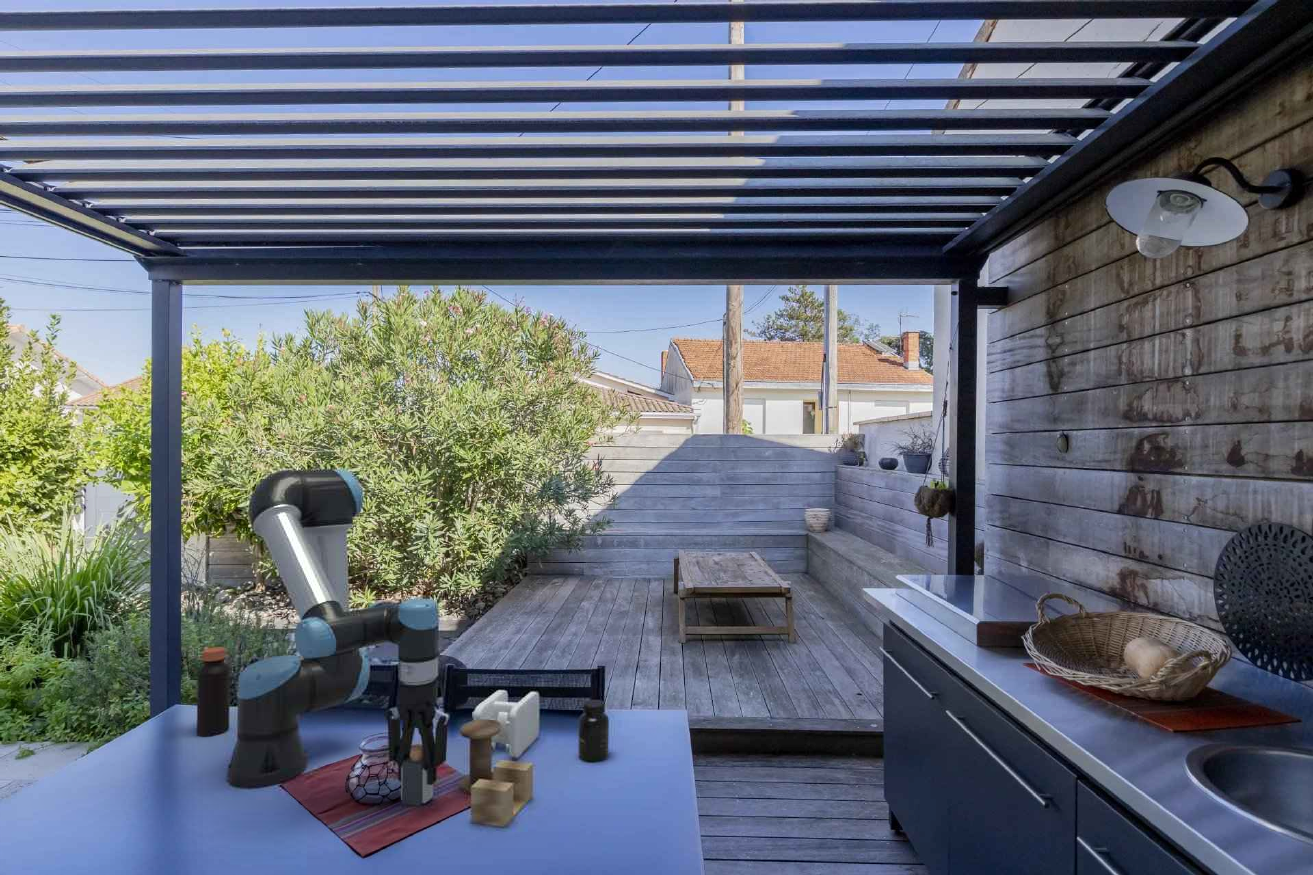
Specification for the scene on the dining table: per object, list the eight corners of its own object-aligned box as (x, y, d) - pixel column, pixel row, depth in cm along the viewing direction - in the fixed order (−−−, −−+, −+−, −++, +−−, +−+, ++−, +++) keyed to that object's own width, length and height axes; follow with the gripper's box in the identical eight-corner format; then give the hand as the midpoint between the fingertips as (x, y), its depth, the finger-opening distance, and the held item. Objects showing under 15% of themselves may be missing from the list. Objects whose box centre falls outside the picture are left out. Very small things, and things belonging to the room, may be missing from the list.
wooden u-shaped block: (470, 822, 133) (471, 786, 133) (500, 792, 145) (500, 759, 145) (505, 827, 132) (505, 791, 132) (532, 796, 143) (532, 763, 143)
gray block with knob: (402, 803, 140) (402, 749, 140) (413, 793, 144) (414, 741, 144) (420, 805, 139) (420, 752, 139) (431, 796, 143) (432, 743, 143)
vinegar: (199, 728, 178) (200, 647, 178) (230, 724, 180) (231, 644, 181) (194, 738, 171) (195, 654, 172) (227, 734, 174) (228, 651, 175)
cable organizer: (514, 764, 158) (514, 711, 158) (470, 759, 160) (470, 707, 160) (540, 737, 173) (540, 689, 173) (499, 734, 175) (499, 686, 175)
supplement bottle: (572, 759, 160) (573, 705, 161) (587, 748, 167) (587, 696, 167) (600, 764, 158) (600, 710, 158) (613, 752, 164) (614, 700, 164)
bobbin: (453, 791, 145) (453, 731, 146) (472, 774, 153) (472, 717, 153) (489, 796, 143) (489, 735, 144) (507, 778, 151) (507, 721, 151)
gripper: (368, 681, 141) (367, 801, 140) (446, 689, 136) (445, 813, 136) (392, 670, 148) (390, 784, 147) (466, 676, 144) (465, 794, 143)
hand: (416, 797), depth 142 cm, fingers closed on gray block with knob, 4 cm apart
